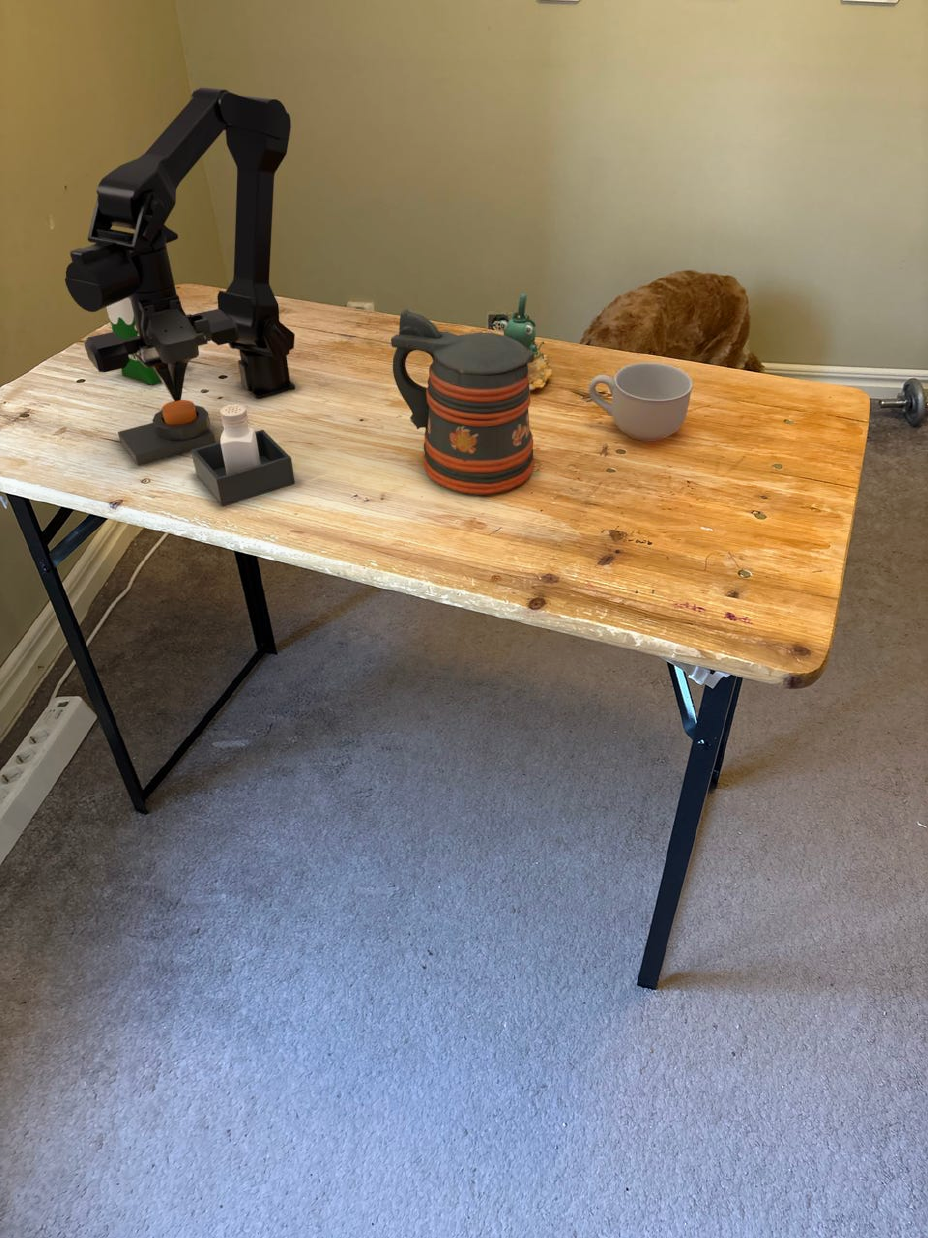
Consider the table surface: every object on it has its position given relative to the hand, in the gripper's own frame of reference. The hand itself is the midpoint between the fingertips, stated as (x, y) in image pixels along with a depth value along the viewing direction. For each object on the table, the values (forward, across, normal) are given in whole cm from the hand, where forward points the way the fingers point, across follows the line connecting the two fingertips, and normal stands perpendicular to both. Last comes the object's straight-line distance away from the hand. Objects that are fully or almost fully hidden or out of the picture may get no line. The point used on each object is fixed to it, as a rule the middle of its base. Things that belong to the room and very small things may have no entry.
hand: (176, 399), depth 124 cm
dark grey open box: (+6, +3, -15) cm, 17 cm away
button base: (+6, -3, 0) cm, 6 cm away
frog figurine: (+6, +50, -11) cm, 52 cm away
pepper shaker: (+6, +3, -15) cm, 16 cm away
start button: (+3, 0, 0) cm, 3 cm away
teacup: (+6, +54, -33) cm, 64 cm away
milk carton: (+6, +3, +24) cm, 25 cm away
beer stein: (+6, +28, -28) cm, 40 cm away
